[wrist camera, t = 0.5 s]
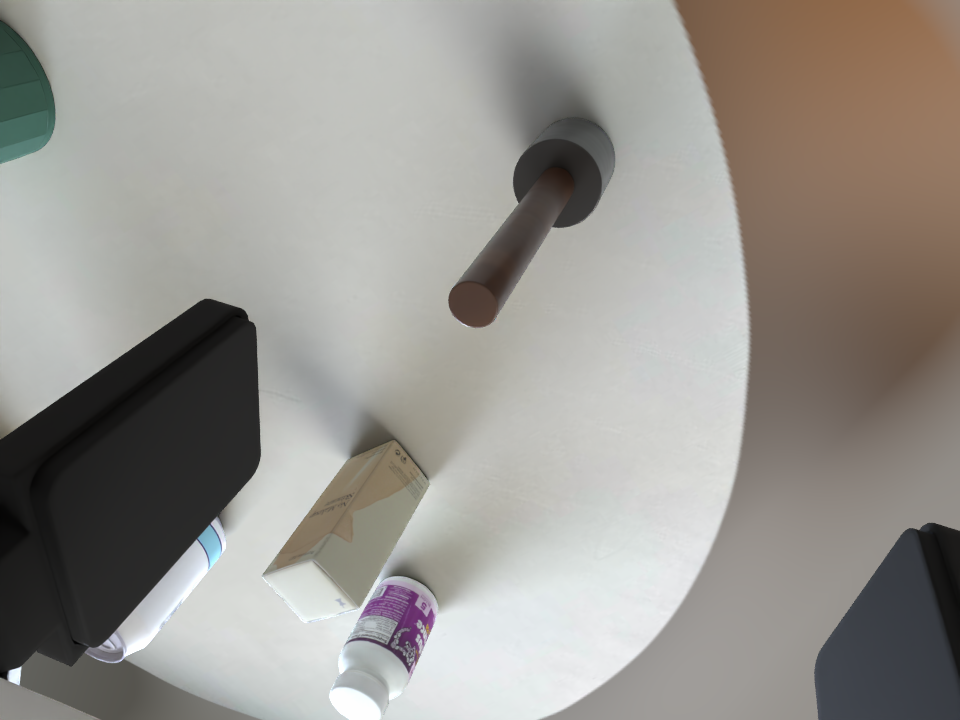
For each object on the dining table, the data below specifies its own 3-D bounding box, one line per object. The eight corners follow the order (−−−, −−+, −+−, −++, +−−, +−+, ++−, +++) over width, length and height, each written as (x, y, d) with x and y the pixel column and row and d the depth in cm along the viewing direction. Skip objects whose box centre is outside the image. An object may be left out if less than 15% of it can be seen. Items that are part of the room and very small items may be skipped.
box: (396, 437, 47) (315, 557, 39) (433, 483, 49) (363, 611, 40) (343, 460, 50) (257, 577, 41) (379, 503, 51) (303, 627, 42)
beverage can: (204, 482, 56) (92, 599, 47) (248, 546, 59) (150, 669, 49) (146, 491, 59) (30, 603, 50) (190, 552, 62) (88, 669, 52)
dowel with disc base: (517, 152, 35) (386, 289, 22) (580, 99, 33) (476, 217, 20) (567, 215, 36) (469, 382, 23) (632, 167, 34) (564, 322, 21)
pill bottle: (447, 624, 56) (400, 737, 48) (388, 617, 58) (334, 725, 50) (431, 575, 54) (378, 686, 46) (370, 570, 56) (309, 676, 48)
